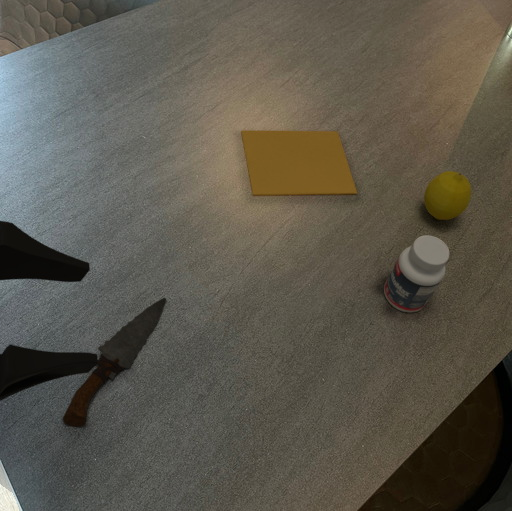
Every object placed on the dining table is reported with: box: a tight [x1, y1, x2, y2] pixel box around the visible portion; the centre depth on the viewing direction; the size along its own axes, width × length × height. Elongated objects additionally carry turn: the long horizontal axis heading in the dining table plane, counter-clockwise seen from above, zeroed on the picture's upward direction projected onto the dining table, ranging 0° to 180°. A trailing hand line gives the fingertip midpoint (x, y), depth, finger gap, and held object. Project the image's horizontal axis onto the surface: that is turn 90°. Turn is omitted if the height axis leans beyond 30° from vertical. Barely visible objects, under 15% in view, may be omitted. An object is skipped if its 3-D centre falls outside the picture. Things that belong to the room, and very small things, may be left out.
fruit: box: [423, 170, 472, 221], centre depth 79 cm, size 6×6×8 cm
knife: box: [62, 297, 167, 428], centre depth 63 cm, size 17×2×5 cm
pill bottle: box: [383, 234, 451, 313], centre depth 70 cm, size 5×5×9 cm
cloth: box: [240, 130, 358, 197], centre depth 85 cm, size 14×12×1 cm
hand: (88, 316), depth 48 cm, fingers open, 7 cm apart
